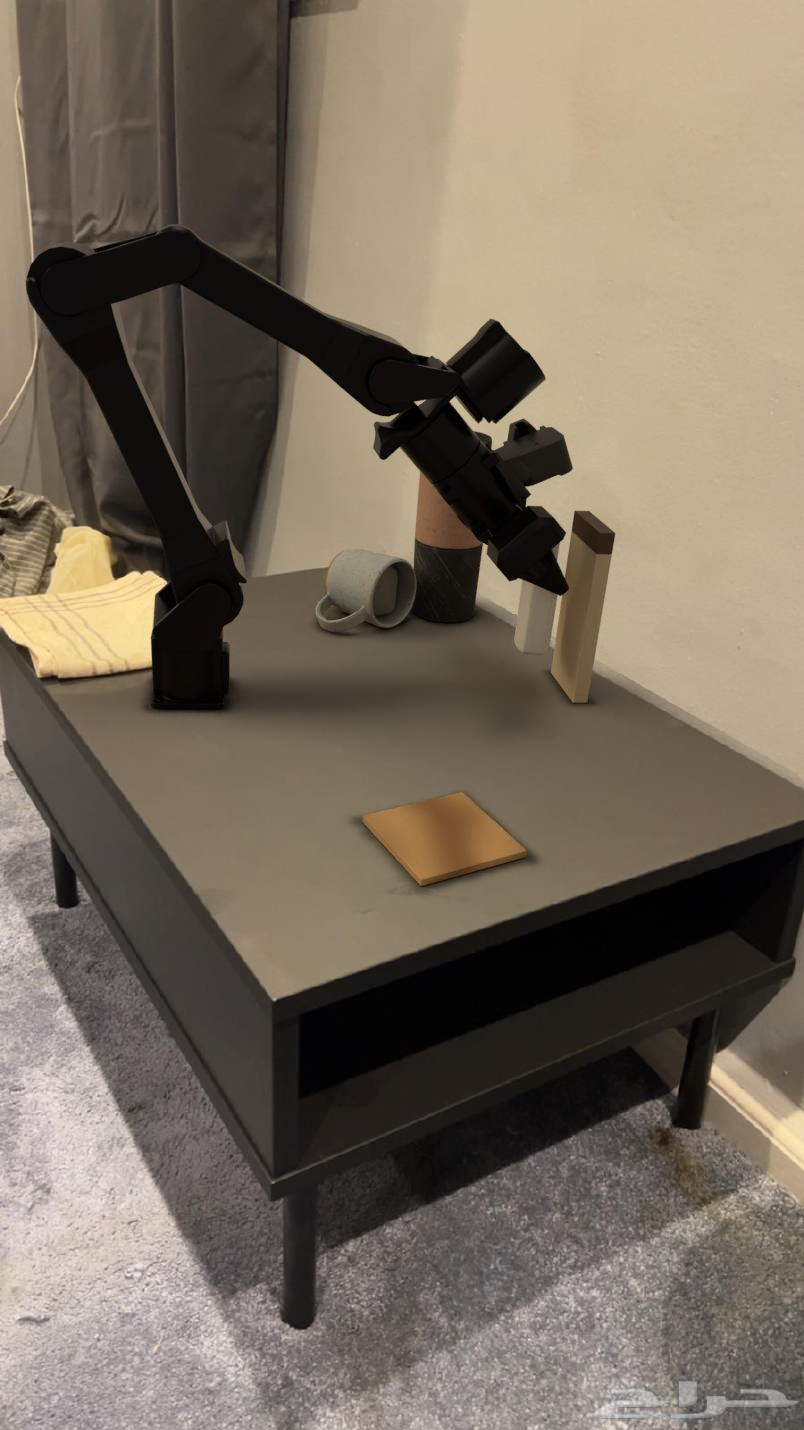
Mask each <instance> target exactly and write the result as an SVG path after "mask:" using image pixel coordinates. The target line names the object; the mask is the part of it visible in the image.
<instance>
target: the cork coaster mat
mask: <svg viewBox="0 0 804 1430" xmlns="http://www.w3.org/2000/svg"><path fill="white" fill-rule="evenodd" d="M362 823H363V824H364V826H365V827H367V829H368V830H369V831H370V832H371V833H372V834H373V835H374V836H375V838H377V840H378V841H379V842H380V843H381V844H382V845H383V847H385V848H386V849H387V851H388V852H389V853H390V854H391V855H392V856H393V858H395V859H396V860H397V861H398V863H399V864H400V865H401V866H402V867H403V868H404V869H405V870H406V871H407V872H408V874H409V875H410V876H411V877H412V879H414V880H415V882H417V884H418V885H419V886H420V887H425V886H427V885H430V884H434V883H435V884H436V883H438V882H441V881H445V880H449V879H452V878H456V877H459V876H464V875H467V874H469V873H473V872H477V871H481V870H484V869H489V868H491V867H495V866H498V865H502V864H507V863H509V862H513V861H516V860H521V859H524V858H527V853H528V850H527V849H526V848H525V847H524V846H523V845H522V844H520V843H519V842H518V840H516V838H514V837H513V836H511V834H509V833H508V832H507V831H506V830H505V829H504V828H503V827H501V825H499V824H498V823H497V822H496V821H495V820H494V819H493V818H492V817H491V816H489V814H488V813H487V812H485V811H484V810H483V809H482V808H480V807H479V805H477V804H476V803H475V802H474V801H473V800H472V799H471V798H470V797H468V795H466V794H465V793H464V792H463V791H460V792H457V793H456V792H455V793H452V794H448V795H444V796H439V797H435V798H432V799H427V800H422V801H419V802H414V803H410V804H405V805H401V806H397V807H393V808H389V809H385V810H380V811H377V812H371V813H368V814H367V813H366V814H363V815H362Z"/></svg>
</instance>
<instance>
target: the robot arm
mask: <svg viewBox="0 0 804 1430" xmlns="http://www.w3.org/2000/svg"><path fill="white" fill-rule="evenodd" d="M174 284H176V285H178V286H179V285H180V286H182V287H184V288H185V289H187V290H189V291H191V292H193V293H194V294H196V295H197V296H199V297H201V298H203V299H204V300H205V301H208V302H210V303H212V304H213V305H215V306H217V307H219V308H220V309H222V310H223V311H225V312H227V313H228V314H231V315H232V316H234V317H236V318H237V319H239V320H241V321H242V322H244V323H245V324H248V325H249V326H252V327H253V328H254V329H257V330H258V331H259V332H261V333H263V334H264V335H267V336H268V337H270V338H272V339H274V340H275V341H277V342H278V343H280V344H282V345H284V346H285V347H288V348H289V349H291V350H292V351H294V352H296V353H297V354H300V355H301V356H303V357H305V358H306V359H308V360H309V361H310V362H311V363H312V364H314V366H316V367H317V368H318V369H319V370H320V371H321V372H322V373H324V374H325V375H326V376H327V377H328V378H330V379H331V380H332V381H333V382H334V383H335V384H336V385H337V386H339V388H341V389H342V391H344V392H345V393H346V394H348V395H349V396H350V397H351V398H353V399H354V400H355V401H356V402H357V403H358V404H360V405H361V406H362V407H363V408H364V409H366V410H367V411H368V412H370V413H372V414H373V415H376V416H380V417H386V418H387V417H388V418H389V417H392V416H394V417H393V419H391V420H390V421H383V422H382V421H375V422H374V423H373V427H374V441H373V445H372V449H373V450H374V452H375V453H376V455H377V456H378V458H379V460H382V461H385V460H386V461H387V459H389V457H391V456H392V455H393V454H394V453H395V452H396V451H397V450H398V449H400V450H401V451H402V453H403V454H405V456H406V457H407V458H408V460H410V462H411V463H412V464H413V465H414V466H415V467H416V469H417V470H418V471H419V473H420V472H421V473H422V474H423V475H424V476H425V478H426V479H427V480H428V481H429V482H430V483H431V484H432V486H433V487H434V488H435V489H436V490H437V492H438V493H439V494H440V495H441V497H442V498H443V499H444V500H445V501H446V503H447V504H448V505H449V506H450V508H451V510H452V511H453V512H454V513H455V515H456V516H457V517H458V518H459V520H460V521H461V522H462V523H463V524H464V525H465V526H466V528H469V529H470V530H471V532H472V533H473V535H474V536H475V537H476V538H477V540H479V541H480V542H482V543H483V545H486V546H487V547H486V556H488V558H489V559H490V561H491V562H492V563H493V564H494V565H495V567H496V568H497V569H498V570H499V572H500V573H501V574H502V575H503V576H504V577H505V579H507V581H508V582H513V581H516V580H518V579H519V580H521V581H522V580H524V581H527V582H529V583H531V584H534V585H536V586H539V587H541V588H543V589H545V590H548V591H550V592H552V593H555V594H557V595H558V597H559V596H560V597H562V595H563V594H564V593H566V592H567V591H568V590H569V586H568V584H567V582H566V579H565V574H563V570H562V569H561V567H560V564H559V563H558V559H557V560H556V558H555V555H554V553H553V551H552V549H553V548H554V547H555V546H556V545H557V544H559V543H560V544H561V543H562V541H563V540H564V539H565V537H566V535H567V532H566V530H565V529H564V528H563V527H562V525H561V524H560V523H559V522H558V521H557V519H556V518H555V517H554V516H553V515H552V514H551V513H550V512H549V511H548V510H547V509H546V508H544V507H543V506H542V505H527V502H528V501H527V500H528V499H529V497H530V496H532V493H531V492H530V491H529V490H528V488H529V487H532V486H535V485H539V484H540V483H542V482H545V481H547V480H550V479H552V478H554V477H557V476H561V477H562V476H565V475H568V474H569V473H570V472H572V471H573V470H574V467H573V464H572V460H571V459H572V458H571V456H570V453H569V449H568V445H567V442H566V438H565V435H564V434H563V433H562V432H560V431H559V430H557V429H556V428H555V427H552V426H547V427H546V426H545V425H540V426H539V429H537V428H536V427H535V426H534V425H533V424H531V422H530V421H528V420H527V419H525V418H521V419H518V420H516V421H514V422H511V423H509V427H508V431H507V432H508V433H507V439H506V440H505V441H503V442H502V445H501V447H498V448H496V449H491V448H490V446H489V445H488V444H487V443H486V442H485V441H484V442H482V441H481V440H480V439H479V438H478V436H477V435H476V434H475V432H474V431H475V430H473V428H472V427H471V426H470V425H469V424H468V422H467V421H466V419H464V417H463V416H462V415H461V414H460V413H459V411H458V410H457V409H456V408H455V406H454V405H453V404H452V403H451V401H452V400H453V399H454V398H455V399H456V400H457V401H458V403H459V404H460V405H461V406H462V408H463V409H464V410H465V411H466V412H467V413H468V415H469V416H470V417H471V418H472V419H473V420H474V421H475V422H476V423H477V424H480V423H482V422H483V420H485V421H486V422H487V423H488V424H490V423H491V422H492V423H493V424H495V425H496V424H498V423H499V422H500V421H501V420H502V419H504V418H505V417H506V416H507V415H508V414H509V413H510V412H512V411H513V410H514V409H515V408H516V407H517V406H518V405H520V403H522V402H523V401H524V400H525V399H526V398H527V397H528V396H529V395H530V394H531V393H533V391H535V390H536V389H537V388H538V387H539V386H540V385H542V384H543V383H544V382H545V381H546V379H547V378H546V375H545V373H544V372H543V370H542V368H541V366H540V365H539V364H538V362H537V361H536V359H535V358H534V357H533V355H532V354H531V353H530V352H529V351H528V350H526V349H524V348H523V347H522V346H521V345H520V343H519V342H518V341H517V340H516V339H515V338H514V337H513V336H512V335H511V334H510V333H509V332H508V331H507V330H506V328H505V327H504V326H503V325H502V323H501V322H500V321H498V320H496V319H495V318H489V319H488V320H487V321H486V322H485V323H484V324H483V325H481V327H480V328H479V329H478V330H477V332H476V334H475V335H474V336H473V337H472V338H471V339H470V340H469V341H468V342H466V344H464V345H463V346H462V347H461V348H460V349H459V350H458V351H456V353H454V354H453V356H451V357H450V358H449V359H448V360H447V361H446V362H444V361H442V360H441V359H440V358H438V357H437V358H436V357H435V356H434V355H430V356H427V355H422V354H418V353H413V352H411V351H410V350H409V349H408V348H406V346H404V345H403V344H402V343H400V342H399V341H398V340H397V339H396V338H394V337H392V336H390V335H387V334H385V333H382V332H380V331H377V330H374V329H372V328H370V327H366V326H364V325H361V324H358V323H356V322H352V321H349V320H346V319H343V318H340V317H337V316H335V315H332V314H329V313H326V312H324V311H322V310H320V309H319V308H317V307H316V306H314V305H312V304H310V303H308V302H307V301H305V300H304V299H302V298H300V297H298V296H297V295H295V294H294V293H292V292H290V291H289V290H288V289H287V290H286V289H285V288H283V287H282V286H281V285H278V284H277V283H276V282H274V281H272V280H270V279H268V278H267V277H265V275H262V274H261V273H258V272H257V271H256V270H253V269H252V268H250V267H248V266H247V265H246V264H243V263H242V262H240V261H239V260H237V259H235V258H233V256H231V255H229V254H227V253H225V252H223V251H222V250H221V249H219V248H217V247H215V246H214V245H212V244H210V243H209V242H207V241H205V240H204V239H202V238H201V237H200V236H199V235H198V234H197V233H196V232H195V231H194V230H193V229H191V228H190V227H189V226H185V225H183V224H181V223H170V224H168V225H165V226H162V227H161V228H160V229H159V230H156V231H154V232H153V231H152V232H150V233H146V234H142V235H139V236H134V237H132V238H128V239H123V240H119V241H116V242H112V243H109V244H105V245H102V246H98V247H95V248H91V247H89V246H87V245H85V244H83V243H81V242H75V241H64V242H59V243H56V244H54V245H52V246H51V247H49V248H47V249H46V250H43V252H41V253H39V254H38V255H37V256H36V257H35V258H34V260H33V261H32V262H31V263H30V265H29V269H28V271H27V274H26V278H25V291H26V294H27V298H28V301H29V303H30V305H31V307H32V309H33V310H34V312H35V313H36V314H37V316H38V317H39V319H40V320H41V322H42V323H43V325H44V326H45V327H46V329H47V330H48V332H49V333H50V334H51V336H52V338H53V339H54V340H55V343H57V344H58V346H59V348H61V350H62V351H63V352H64V353H65V355H66V356H67V357H68V358H69V359H70V360H71V362H72V363H73V364H74V366H76V368H77V369H78V370H79V372H81V374H82V375H83V377H84V378H85V380H86V382H87V385H88V386H89V389H90V390H91V393H92V395H93V396H94V399H95V401H96V403H97V405H98V407H99V409H100V411H101V413H102V417H103V418H104V420H105V422H106V425H107V426H108V428H109V431H110V433H111V434H112V437H113V439H114V441H115V443H116V445H117V447H118V449H119V451H120V454H121V456H122V458H123V461H124V462H125V464H126V467H127V468H128V470H129V472H130V475H131V477H132V479H133V481H134V483H135V485H136V488H137V489H138V492H139V494H140V496H141V498H142V500H143V502H144V504H145V506H146V509H147V511H148V513H149V515H150V517H151V519H152V521H153V523H154V525H155V527H156V529H157V532H158V534H159V538H160V541H161V545H162V550H163V554H164V555H163V556H164V560H165V564H166V568H167V572H168V577H169V581H168V582H167V583H166V584H165V585H164V586H163V587H161V589H159V590H158V591H157V592H156V593H155V594H154V603H153V619H152V630H151V635H150V653H151V680H152V690H151V695H150V701H149V703H150V707H151V708H154V709H157V708H158V709H161V708H162V709H221V708H224V707H225V706H224V705H225V695H228V694H229V693H230V687H231V686H230V684H231V655H230V654H231V650H230V648H231V644H230V643H229V642H228V641H224V627H226V626H228V625H229V624H231V623H232V622H234V620H235V619H237V617H238V616H239V615H240V612H241V611H242V608H243V606H244V600H245V599H244V598H245V597H244V591H243V584H247V581H248V579H247V574H246V567H245V566H246V565H245V560H244V556H243V555H242V554H241V552H239V551H238V549H237V548H236V546H235V544H234V543H233V540H232V537H231V533H230V529H229V525H228V521H227V520H226V519H223V520H221V521H220V522H218V523H217V524H215V525H212V524H211V523H210V521H209V520H208V519H207V518H206V516H205V515H204V514H203V513H202V511H201V509H200V508H199V507H198V505H197V502H196V500H195V498H194V496H193V493H192V491H191V488H190V487H189V484H188V482H187V479H186V478H185V475H184V473H183V471H182V468H181V466H180V463H179V462H178V459H177V458H176V455H175V454H174V451H173V448H172V446H171V445H170V442H169V440H168V437H167V436H166V433H165V431H164V429H163V425H162V424H161V421H160V420H159V418H158V415H157V413H156V411H155V409H154V408H155V407H154V406H153V404H152V402H151V400H150V398H149V395H148V393H147V390H146V388H145V386H144V384H143V382H142V379H141V377H140V375H139V372H138V371H137V369H136V366H135V364H134V361H133V359H132V357H131V355H130V349H129V346H128V341H127V337H126V332H125V328H124V327H125V326H124V323H123V317H122V314H121V310H120V306H119V303H120V302H123V301H127V300H129V299H132V298H135V297H139V296H141V295H143V294H147V293H150V292H152V291H155V290H158V289H161V288H164V287H167V286H170V285H174ZM416 402H421V403H420V404H417V403H416ZM395 415H396V416H395Z"/></svg>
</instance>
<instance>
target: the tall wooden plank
mask: <svg viewBox="0 0 804 1430" xmlns="http://www.w3.org/2000/svg"><path fill="white" fill-rule="evenodd" d="M572 518H573V519H572V524H571V525H572V526H571V531H570V532H571V533H570V538H569V546H568V552H567V559H566V565H565V572H564V577H565V579H566V582H567V584H568V586H569V590H568V591H567V592H566V593H564V594H563V595H562V596H561V600H560V606H559V615H558V621H557V628H556V635H555V640H554V648H553V654H552V660H551V661H552V662H551V667H550V673H551V675H552V676H553V678H554V679H555V680H556V682H557V683H558V684H559V686H560V688H562V690H563V691H564V692H565V694H566V695H567V698H568V699H570V701H571V703H573V704H575V703H578V704H579V703H580V704H581V703H588V699H589V695H590V688H591V683H592V677H593V670H594V665H595V664H594V663H595V657H596V652H597V645H598V641H599V634H600V628H601V623H602V618H603V617H602V615H603V611H604V604H605V598H606V593H607V592H606V591H607V586H608V580H609V574H610V568H611V563H612V555H613V551H614V550H613V549H614V545H615V538H616V532H615V531H614V530H612V528H610V527H609V526H608V525H606V524H605V522H603V521H602V520H601V519H599V518H598V517H597V516H596V515H595V514H593V512H591V511H590V510H574V511H573V517H572Z"/></svg>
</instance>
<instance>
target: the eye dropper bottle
mask: <svg viewBox="0 0 804 1430" xmlns="http://www.w3.org/2000/svg"><path fill="white" fill-rule="evenodd" d="M560 545H561V542H560V543H559V544H557V545H556V546H555V547H554V548H553V549H552V551H553V553H554V555H555V558H556V560H557V561H558V557H559V552H560ZM520 587H521V588H520V594H519V601H518V602H519V603H518V610H517V617H516V622H515V623H516V624H515V630H514V631H515V632H514V638H513V643H514V646H515V648H516V649H517V651H519V652H520V653H521V654H525V655H534V656H544V655H545V654H546V653H547V652H548V651H549V649H550V645H551V639H552V634H553V633H552V632H553V628H554V620H555V614H556V608H557V601H558V597H559V595H557V594H555V593H552V592H550V591H548V590H545V589H543V588H541V587H539V586H536V585H534V584H531V583H529V582H527V581H524V580H522V579H521V586H520Z"/></svg>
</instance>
